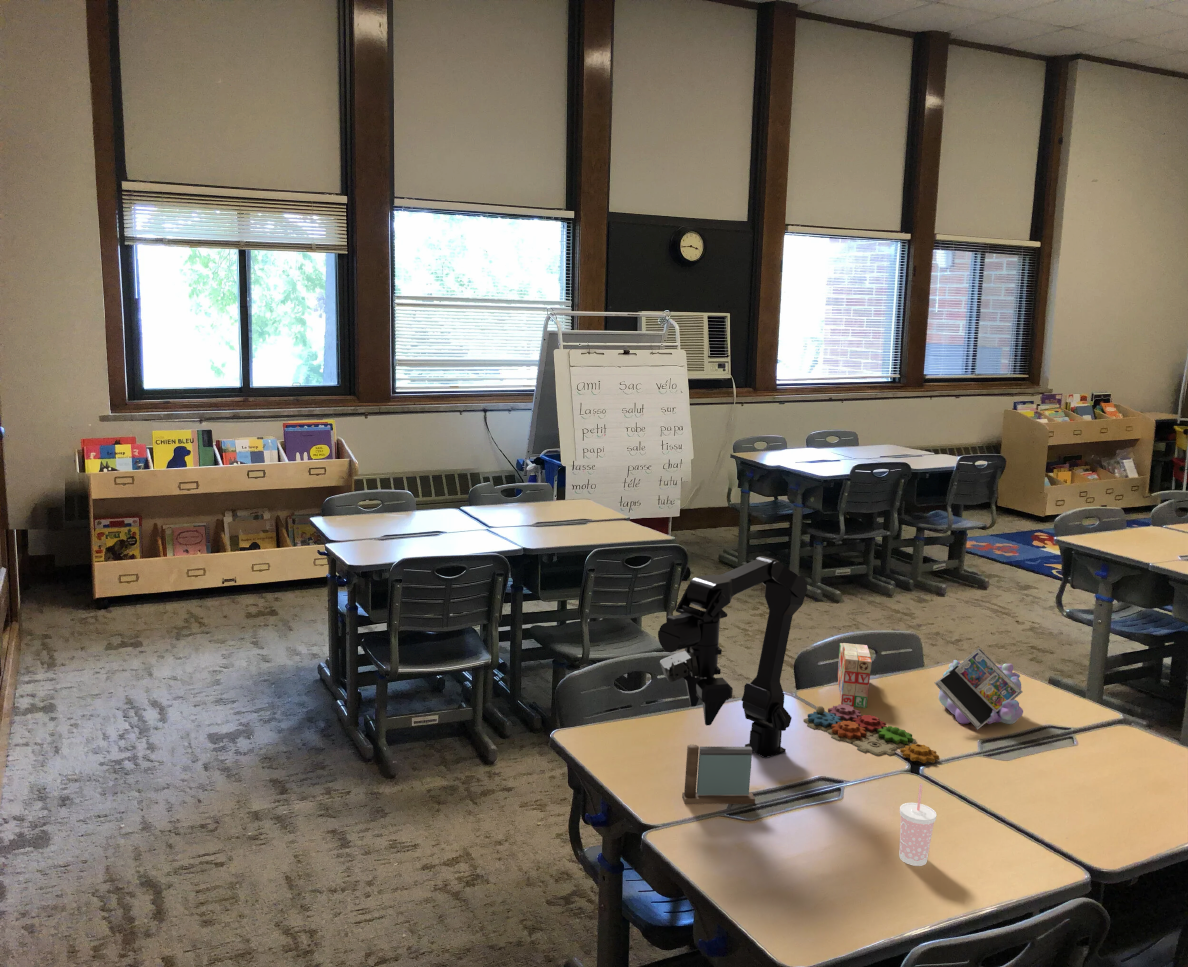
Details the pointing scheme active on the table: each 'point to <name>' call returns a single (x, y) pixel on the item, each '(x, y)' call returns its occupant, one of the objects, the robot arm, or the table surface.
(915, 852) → the beverage cup
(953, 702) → the bubbly comic picture frame
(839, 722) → the gear puzzle
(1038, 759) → the table surface
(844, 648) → the stack of blocks
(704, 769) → the panel
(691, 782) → the brown l-shaped piece
